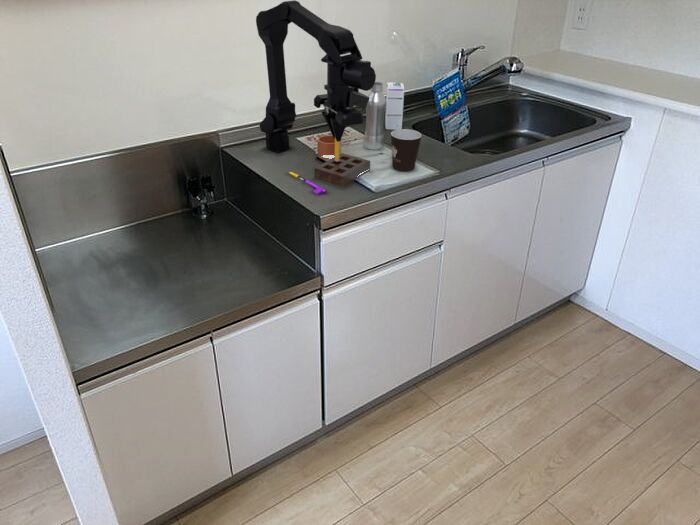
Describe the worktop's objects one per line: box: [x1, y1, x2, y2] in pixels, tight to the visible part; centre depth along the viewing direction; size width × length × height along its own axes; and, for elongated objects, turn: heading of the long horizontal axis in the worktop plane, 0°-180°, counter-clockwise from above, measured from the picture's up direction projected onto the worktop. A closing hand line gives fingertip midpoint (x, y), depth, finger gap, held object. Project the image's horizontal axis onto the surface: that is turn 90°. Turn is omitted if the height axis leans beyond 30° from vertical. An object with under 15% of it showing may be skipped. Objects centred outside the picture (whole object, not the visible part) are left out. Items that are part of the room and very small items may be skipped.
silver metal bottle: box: [362, 81, 386, 151], centre depth 170 cm, size 6×7×20 cm
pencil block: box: [313, 152, 371, 188], centre depth 157 cm, size 10×14×4 cm
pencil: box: [335, 138, 340, 161], centre depth 154 cm, size 1×1×10 cm
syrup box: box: [384, 81, 405, 131], centre depth 189 cm, size 6×6×14 cm
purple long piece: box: [288, 171, 327, 196], centre depth 152 cm, size 3×1×16 cm
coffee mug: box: [390, 128, 422, 173], centre depth 162 cm, size 12×9×10 cm
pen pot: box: [317, 134, 342, 161], centre depth 168 cm, size 7×7×6 cm
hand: (337, 140), depth 153 cm, fingers closed on pencil, 1 cm apart
